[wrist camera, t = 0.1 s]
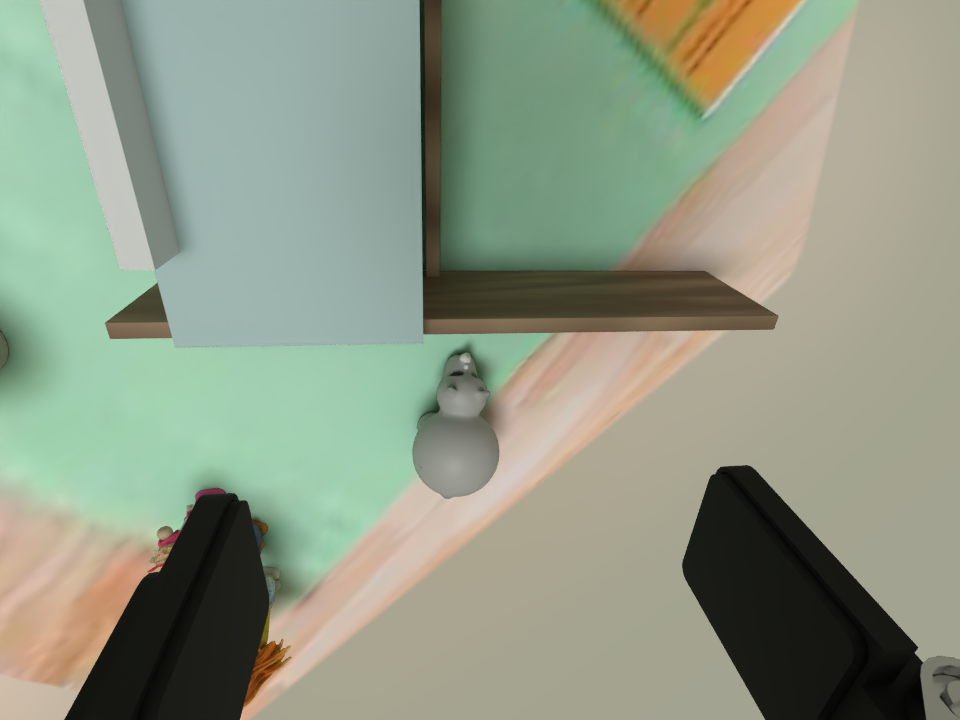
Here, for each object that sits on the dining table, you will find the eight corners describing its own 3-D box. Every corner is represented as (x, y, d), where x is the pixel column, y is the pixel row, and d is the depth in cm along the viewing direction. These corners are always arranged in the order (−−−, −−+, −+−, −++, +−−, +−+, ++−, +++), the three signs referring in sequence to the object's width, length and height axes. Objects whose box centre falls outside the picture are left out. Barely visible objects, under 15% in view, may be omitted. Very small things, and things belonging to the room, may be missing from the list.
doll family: (183, 470, 46) (107, 598, 34) (293, 467, 47) (256, 590, 35) (221, 621, 55) (172, 761, 44) (312, 615, 57) (287, 749, 45)
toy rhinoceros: (497, 353, 47) (524, 363, 39) (479, 478, 48) (501, 514, 40) (421, 343, 45) (432, 351, 37) (403, 472, 46) (410, 508, 38)
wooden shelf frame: (48, -235, 25) (-135, -401, 17) (811, -143, 31) (967, -233, 22) (177, 283, 38) (110, 338, 29) (701, 282, 43) (773, 329, 35)
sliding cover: (-6, -388, 17) (-114, -512, 13) (415, -323, 19) (417, -418, 15) (181, 339, 29) (151, 373, 26) (422, 336, 31) (424, 367, 28)
